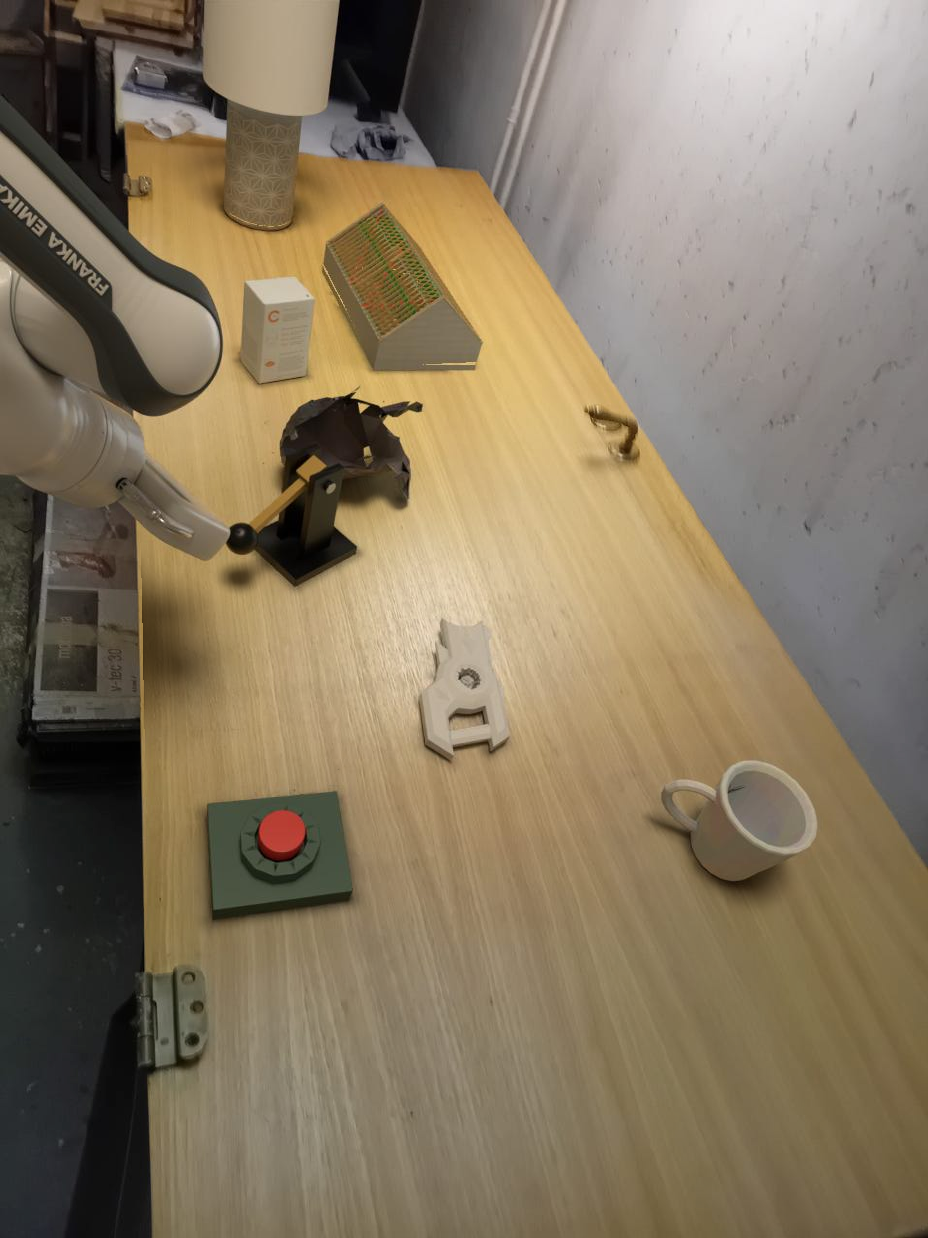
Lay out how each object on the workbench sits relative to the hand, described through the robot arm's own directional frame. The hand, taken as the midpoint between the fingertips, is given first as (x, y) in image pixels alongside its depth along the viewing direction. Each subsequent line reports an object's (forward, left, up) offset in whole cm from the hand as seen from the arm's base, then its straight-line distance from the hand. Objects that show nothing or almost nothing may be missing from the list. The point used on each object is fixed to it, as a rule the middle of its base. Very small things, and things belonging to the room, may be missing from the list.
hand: (187, 499), depth 80 cm
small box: (+14, +47, -16) cm, 52 cm away
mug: (+52, -35, -16) cm, 65 cm away
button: (+7, -31, -13) cm, 34 cm away
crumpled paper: (+20, +22, -16) cm, 34 cm away
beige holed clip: (+29, -14, -16) cm, 36 cm away
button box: (+7, -31, -16) cm, 35 cm away
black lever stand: (+14, +9, -16) cm, 23 cm away
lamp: (+16, +97, -16) cm, 100 cm away
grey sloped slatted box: (+37, +65, -16) cm, 77 cm away
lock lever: (+11, +7, -8) cm, 15 cm away
